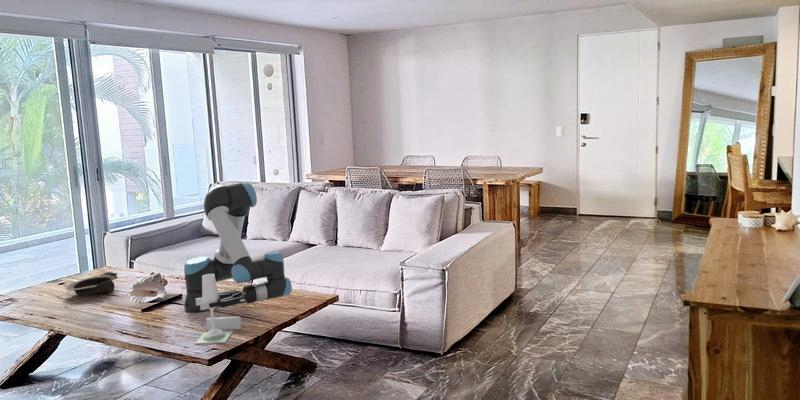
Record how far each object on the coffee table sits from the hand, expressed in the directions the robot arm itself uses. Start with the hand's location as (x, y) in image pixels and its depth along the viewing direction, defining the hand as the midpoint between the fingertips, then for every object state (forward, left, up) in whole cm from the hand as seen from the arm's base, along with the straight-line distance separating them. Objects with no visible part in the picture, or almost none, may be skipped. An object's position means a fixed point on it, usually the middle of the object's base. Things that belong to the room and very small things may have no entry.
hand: (198, 304), depth 242 cm
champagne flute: (+4, +3, -13) cm, 14 cm away
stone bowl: (-83, +78, -16) cm, 115 cm away
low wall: (+5, +13, -15) cm, 21 cm away
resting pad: (+4, +3, -15) cm, 16 cm away
